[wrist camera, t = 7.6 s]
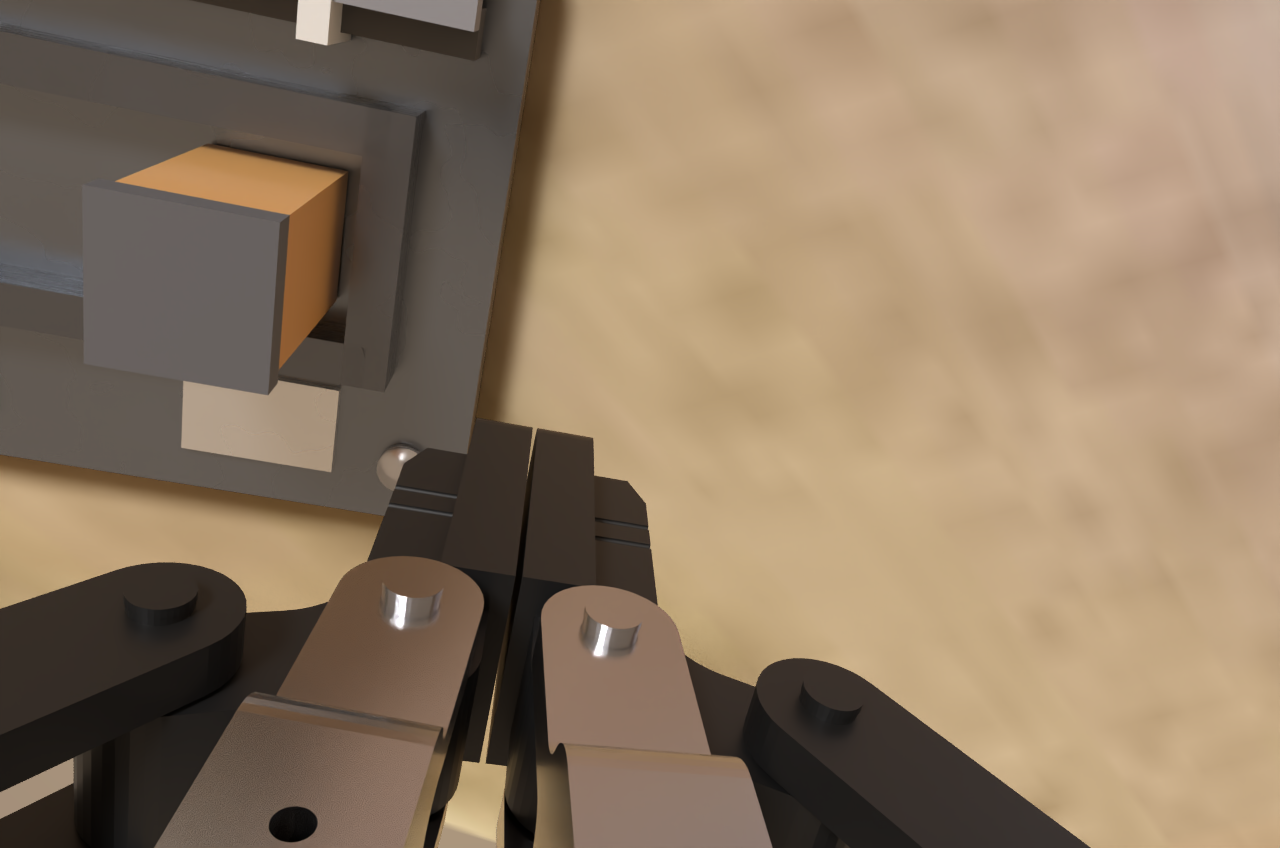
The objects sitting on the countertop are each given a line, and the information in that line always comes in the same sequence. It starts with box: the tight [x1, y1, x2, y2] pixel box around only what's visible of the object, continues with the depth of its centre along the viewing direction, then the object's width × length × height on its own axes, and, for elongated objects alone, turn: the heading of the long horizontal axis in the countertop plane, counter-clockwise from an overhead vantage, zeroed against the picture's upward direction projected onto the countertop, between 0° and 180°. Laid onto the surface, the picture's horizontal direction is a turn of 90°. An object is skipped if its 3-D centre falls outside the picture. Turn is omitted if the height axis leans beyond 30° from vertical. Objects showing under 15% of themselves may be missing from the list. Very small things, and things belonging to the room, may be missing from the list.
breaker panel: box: [0, 0, 541, 516], centre depth 22 cm, size 18×14×3 cm
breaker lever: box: [82, 143, 348, 395], centre depth 20 cm, size 3×3×6 cm
